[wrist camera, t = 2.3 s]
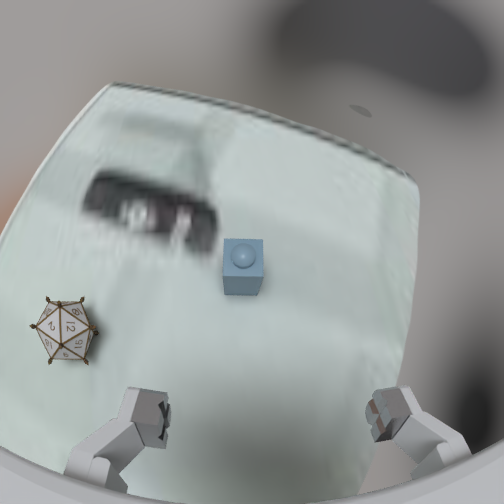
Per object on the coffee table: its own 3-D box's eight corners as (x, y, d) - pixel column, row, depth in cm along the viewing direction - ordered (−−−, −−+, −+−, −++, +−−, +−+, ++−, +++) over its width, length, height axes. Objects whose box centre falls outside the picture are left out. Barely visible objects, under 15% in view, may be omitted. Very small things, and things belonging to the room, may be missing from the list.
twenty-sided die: (81, 343, 36) (19, 338, 28) (93, 290, 36) (28, 277, 28) (108, 379, 31) (34, 379, 23) (122, 319, 31) (42, 309, 23)
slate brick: (257, 295, 37) (264, 274, 29) (224, 294, 37) (222, 273, 29) (256, 265, 38) (263, 236, 30) (225, 264, 38) (223, 235, 30)
